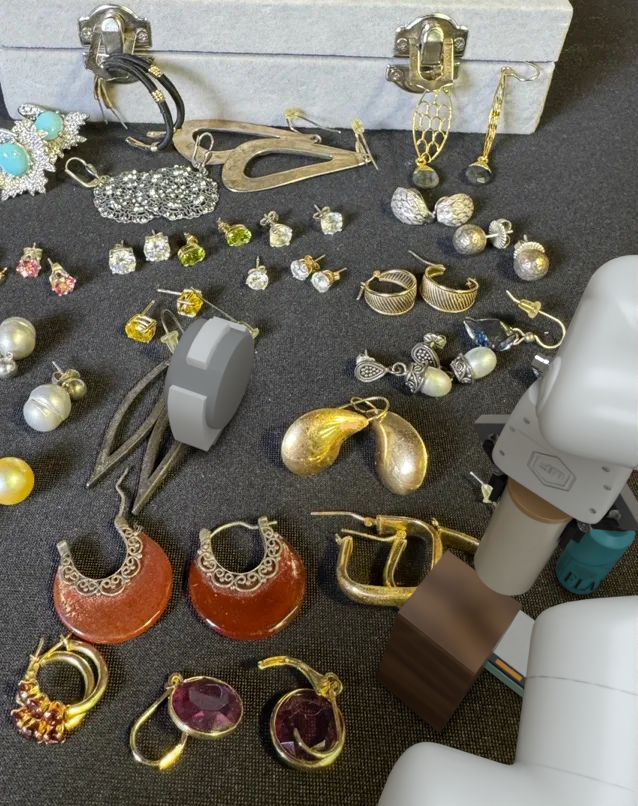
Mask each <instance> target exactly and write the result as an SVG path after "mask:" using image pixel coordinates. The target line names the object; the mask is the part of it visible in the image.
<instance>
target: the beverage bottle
mask: <svg viewBox="0 0 638 806" xmlns="http://www.w3.org/2000/svg"><path fill="white" fill-rule="evenodd" d="M611 507H616V506H615V505H614V503H613V505H612V506H611ZM635 536H636V531H631V530H621V529H620V528H617V529H616V530H615V531H607V530H597V529H592V531H591V532H590V533H585V534H584V536H583V538H582V539H581V541H580V542H579V544H578V543H576V542H575V541H573V540H572V539H571V540H570V542H569V543H568V545H567V546H566V548H565V549H564V550H562V552H561V553H560V556H559V557H558V559H557V560H556V563H555V574H556V577H557V579H558V582H559V583H560V585H562V587H564V588H565V589H566V590H567V591H569V592H571V593H572V594H577V595H590V594H593V593H594V592H596V591H597V590H598V589H599V588H600V587H601V586H602V584H603V583H604V581H605V579H607V578H608V576H609V575H610V573H611V571H612V570H613V569H614V568H615V566H616V565H617V564H618V562H619V561H620V560H621V559H622V558H623V557H624V554H625V553H626V551H627V549H629V547H630V546H631V545H632V543H633V542H634V540H635Z"/></svg>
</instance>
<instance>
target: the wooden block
mask: <svg viewBox="0 0 638 806" xmlns="http://www.w3.org/2000/svg"><path fill="white" fill-rule="evenodd" d="M523 606H524V605H523V604H522V603H521V602H519V601H518V600H517V599H515V598H514V597H512V596H510V595H503V594H500V593H497V592H495V591H493V590H492V589H490V588H489V587H487V586H486V585H485V584H484V583H483V582H482V581H481V579H480V578H479V576H478V574H477V572H476V570H475V568H473V567H471V566H470V565H469V564H468V563H466V562H465V561H463V560H462V559H460V558H459V557H458V556H456V555H455V554H454V553H452V552H451V551H450V550H448V549H446V550H445V552H444V553H443V554H442V555H441V557H440V558H439V560H437V562H436V563H435V564H434V565H433V566H432V568H431V570H430V571H429V572H428V574H426V575H425V577H424V578H423V580H421V581H420V583H419V584H418V585H417V587H416V588H415V590H414V591H413V592H412V593H411V594H410V595H409V597H408V598H407V600H406V601H405V602H404V604H403V605H402V606H401V607H400V608H399V610H398V611H397V614H396V616H395V619H394V621H393V624H392V628H391V631H390V634H389V637H388V640H387V642H386V645H385V649H384V652H383V655H382V659H381V661H380V664H379V667H378V670H377V672H376V676H375V680H376V681H377V682H378V683H380V684H381V685H382V686H383V687H384V688H385V689H386V690H388V691H389V692H390V693H391V694H392V695H394V696H395V697H396V698H397V699H398V700H400V701H401V702H402V703H403V704H404V705H405V706H406V707H408V708H409V709H410V710H411V711H412V712H413V713H414V714H415V715H417V716H418V717H420V718H421V719H422V720H423V721H424V722H425V723H426V724H427V725H429V727H431V728H432V729H434V731H436V733H438V734H440V733H441V732H442V731H443V729H444V728H445V726H446V725H447V724H448V722H449V720H450V719H451V718H452V716H453V714H454V713H455V712H456V711H457V709H458V708H459V706H460V704H461V703H462V702H463V700H464V699H465V697H466V696H467V694H468V693H469V692H470V690H471V688H472V687H473V686H474V684H475V682H476V681H477V680H478V678H479V676H481V674H482V672H483V671H484V669H485V668H484V667H485V666H486V664H487V663H488V661H489V659H490V658H491V656H492V654H493V653H494V651H495V650H496V648H497V646H498V645H499V643H500V642H501V640H502V638H503V637H504V635H505V633H506V632H507V630H508V629H509V627H510V625H511V624H512V622H513V621H514V619H515V617H516V616H517V614H518V612H519V611H520V610H521V609H522V608H523Z"/></svg>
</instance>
